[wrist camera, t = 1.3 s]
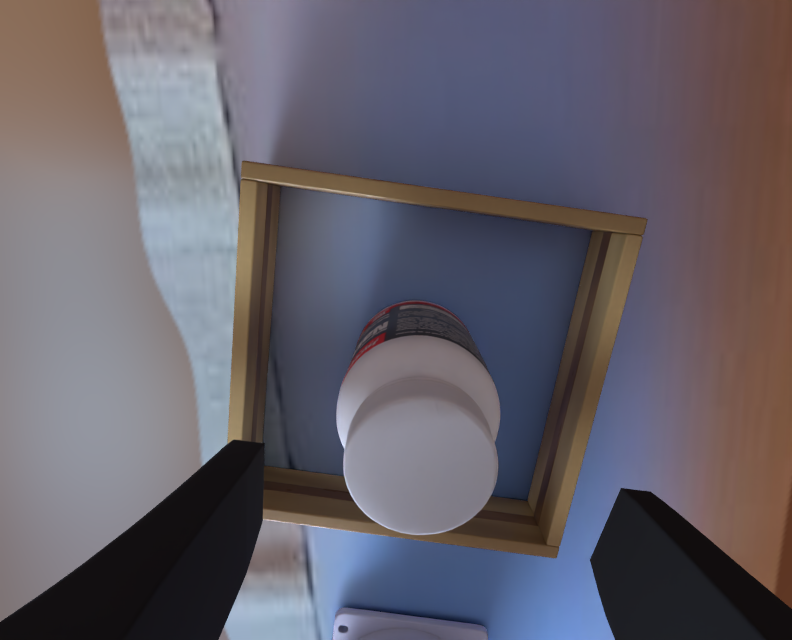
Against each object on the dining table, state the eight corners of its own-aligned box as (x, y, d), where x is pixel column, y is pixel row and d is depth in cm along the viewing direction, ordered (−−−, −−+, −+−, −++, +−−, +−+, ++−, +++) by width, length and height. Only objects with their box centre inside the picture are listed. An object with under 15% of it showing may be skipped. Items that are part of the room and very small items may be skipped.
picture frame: (536, 512, 21) (557, 559, 18) (247, 474, 21) (222, 515, 18) (609, 217, 18) (649, 218, 15) (267, 168, 18) (240, 159, 15)
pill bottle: (375, 282, 19) (351, 340, 10) (489, 319, 19) (559, 405, 10) (342, 391, 20) (295, 525, 11) (449, 423, 20) (482, 578, 12)
